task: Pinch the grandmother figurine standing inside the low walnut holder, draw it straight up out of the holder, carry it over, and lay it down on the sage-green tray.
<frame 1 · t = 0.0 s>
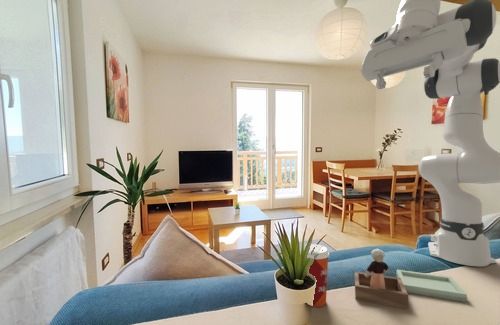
hand: (402, 81, 53), 54 cm above the table, tool tilted 30°, fingers open, 8 cm apart
grandmother figurine: (378, 295, 66), resting in holder
red shaker can: (314, 301, 64), on the table
holder: (378, 294, 66), on the table
tray: (427, 287, 69), on the table
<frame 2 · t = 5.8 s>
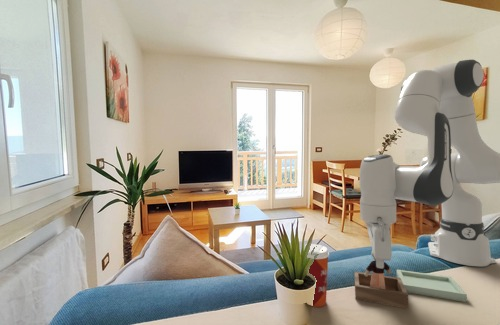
hand: (378, 263, 66), 8 cm above the table, tool pointing down, fingers closed on grandmother figurine, 3 cm apart
grandmother figurine: (379, 295, 66), resting in holder, touching gripper
everything else where it was.
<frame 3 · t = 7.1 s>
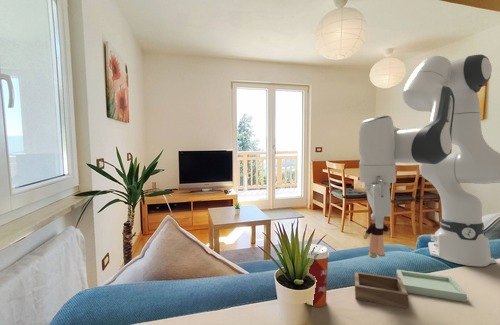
hand: (378, 225, 66), 19 cm above the table, tool pointing down, fingers closed on grandmother figurine, 3 cm apart
grandmother figurine: (377, 255, 67), point 10 cm above the table, touching gripper
everything else where it was.
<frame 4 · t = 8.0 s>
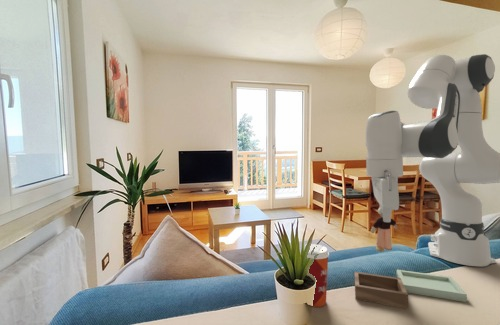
hand: (385, 219, 66), 20 cm above the table, tool pointing down, fingers closed on grandmother figurine, 3 cm apart
grandmother figurine: (385, 248, 68), point 12 cm above the table, touching gripper
everything else where it was.
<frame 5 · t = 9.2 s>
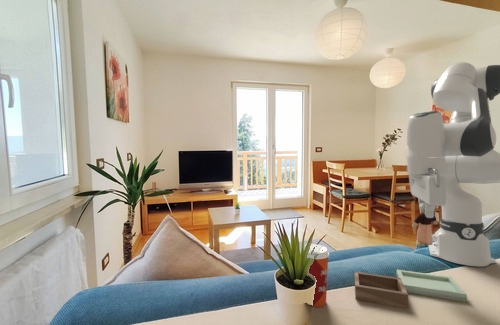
hand: (426, 215, 69), 21 cm above the table, tool pointing down, fingers closed on grandmother figurine, 3 cm apart
grandmother figurine: (425, 243, 71), point 12 cm above the table, touching gripper
everything else where it was.
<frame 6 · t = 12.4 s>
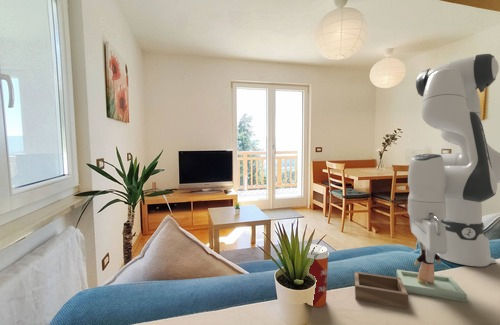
hand: (426, 258, 69), 9 cm above the table, tool pointing down, fingers closed on grandmother figurine, 3 cm apart
grandmother figurine: (426, 280, 70), point 1 cm above the table, touching gripper, tray
everything else where it was.
when the fingers open (8 cm above the table, at t = 13.0 s): grandmother figurine moves 3 cm, resting on tray.
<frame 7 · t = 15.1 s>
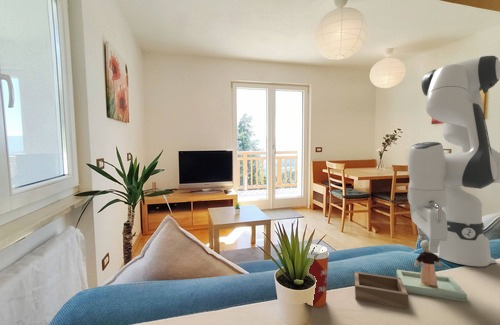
hand: (427, 246, 69), 12 cm above the table, tool pointing down, fingers open, 8 cm apart
grandmother figurine: (430, 286, 68), point 1 cm above the table, touching tray
everything else where it was.
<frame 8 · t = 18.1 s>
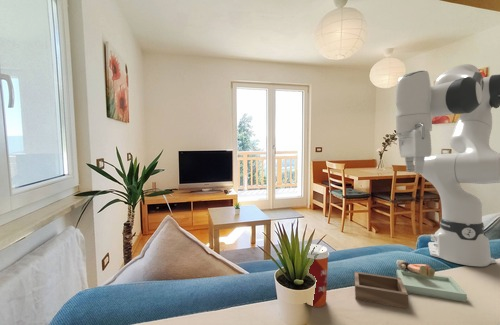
hand: (414, 172, 72), 33 cm above the table, tool pointing down, fingers open, 8 cm apart
grandmother figurine: (429, 272, 69), point 4 cm above the table, touching tray
everything else where it was.
at the end: grandmother figurine inside the target area on the tray (0.7 cm from its centre), point 4.3 cm above the tray's base; grandmother figurine touching table, tray; the gripper is holding nothing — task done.
